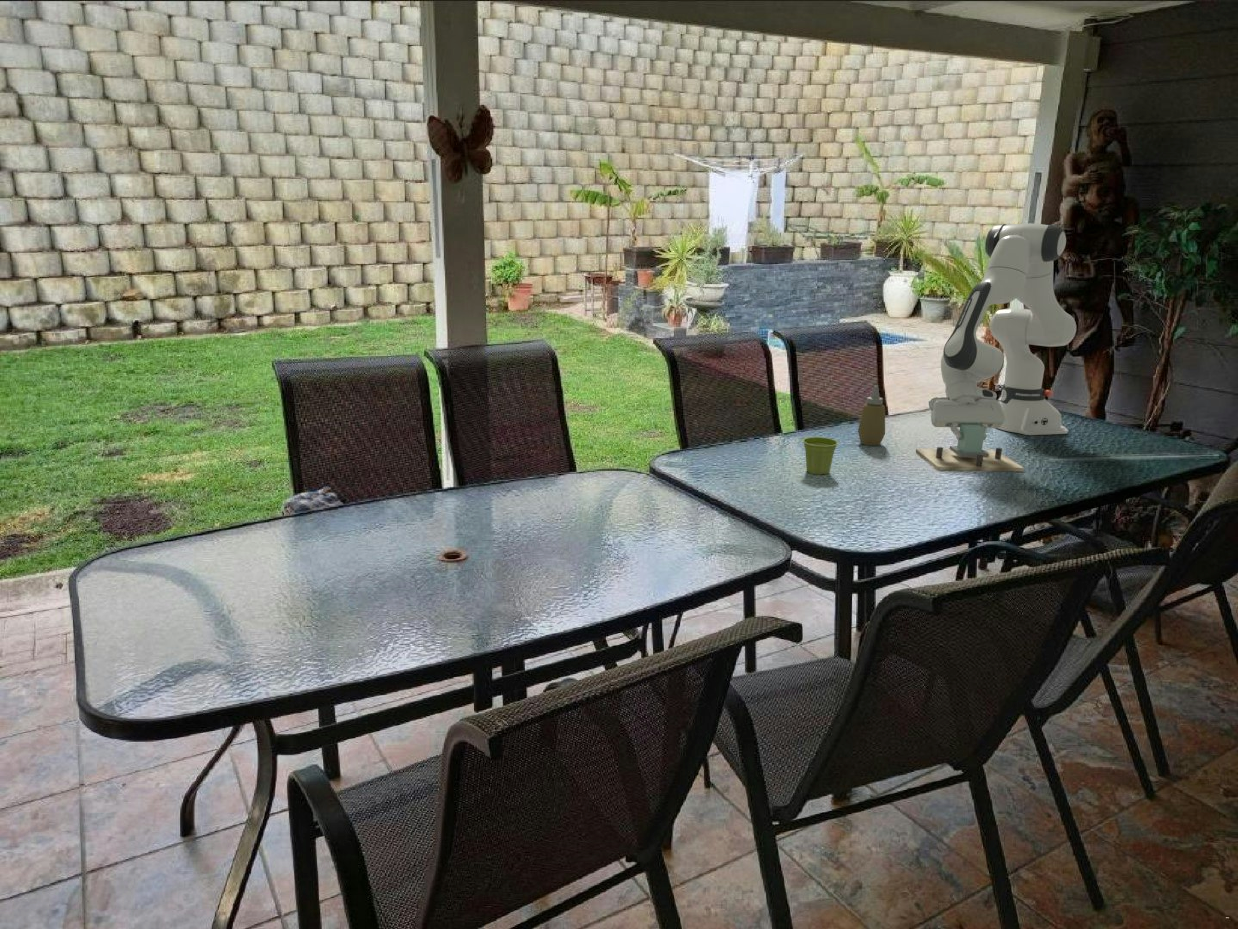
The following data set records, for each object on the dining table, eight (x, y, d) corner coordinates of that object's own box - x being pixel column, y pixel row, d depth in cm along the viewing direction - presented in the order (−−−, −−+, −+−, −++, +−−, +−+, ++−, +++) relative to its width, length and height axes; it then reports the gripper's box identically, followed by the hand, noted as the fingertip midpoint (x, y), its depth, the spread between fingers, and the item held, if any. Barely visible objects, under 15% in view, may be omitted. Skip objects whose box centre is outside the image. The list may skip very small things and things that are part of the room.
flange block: (977, 449, 251) (980, 422, 249) (988, 457, 243) (992, 429, 241) (949, 449, 251) (953, 422, 249) (960, 456, 243) (963, 429, 241)
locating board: (996, 453, 256) (997, 440, 255) (1023, 471, 239) (1025, 457, 238) (915, 452, 256) (917, 439, 255) (937, 470, 239) (939, 456, 238)
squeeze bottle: (887, 447, 261) (893, 389, 256) (860, 447, 261) (866, 388, 256) (879, 440, 269) (885, 383, 263) (853, 440, 269) (859, 383, 263)
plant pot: (795, 473, 234) (798, 442, 231) (805, 464, 242) (808, 435, 239) (830, 479, 230) (833, 447, 227) (839, 470, 238) (841, 439, 235)
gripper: (931, 391, 249) (939, 432, 242) (1001, 392, 249) (1011, 433, 243) (924, 403, 254) (931, 444, 248) (993, 404, 255) (1002, 444, 248)
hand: (971, 439), depth 245 cm, fingers closed on flange block, 5 cm apart
